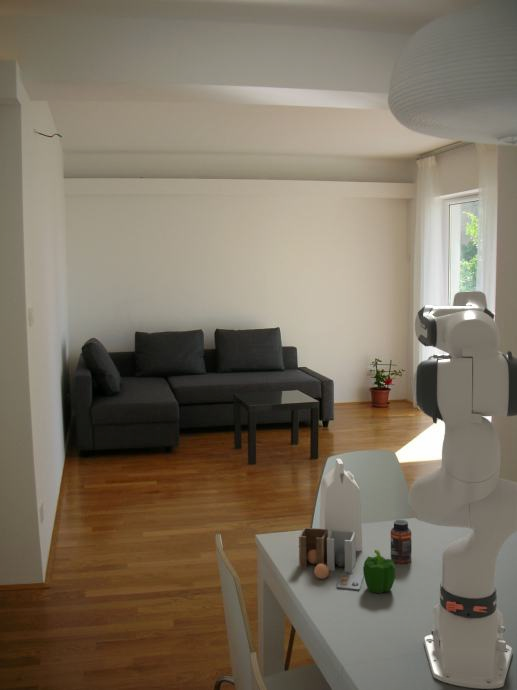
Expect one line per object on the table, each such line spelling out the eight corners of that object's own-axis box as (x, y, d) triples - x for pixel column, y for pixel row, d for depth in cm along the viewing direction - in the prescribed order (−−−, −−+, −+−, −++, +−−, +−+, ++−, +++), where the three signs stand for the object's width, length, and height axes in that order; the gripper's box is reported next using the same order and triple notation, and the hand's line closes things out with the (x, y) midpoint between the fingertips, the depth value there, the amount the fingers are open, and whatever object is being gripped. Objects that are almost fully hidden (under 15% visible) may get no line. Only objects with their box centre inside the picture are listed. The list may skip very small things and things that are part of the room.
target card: (359, 590, 185) (359, 588, 185) (336, 588, 187) (336, 586, 187) (363, 577, 193) (363, 575, 193) (341, 575, 194) (341, 573, 194)
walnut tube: (323, 569, 198) (323, 538, 197) (299, 567, 200) (298, 536, 199) (328, 559, 205) (327, 529, 204) (304, 557, 207) (304, 527, 206)
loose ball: (327, 582, 190) (327, 567, 190) (313, 580, 192) (312, 566, 191) (330, 575, 194) (330, 561, 194) (315, 574, 195) (315, 560, 195)
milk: (319, 536, 222) (318, 456, 219) (355, 535, 223) (355, 455, 220) (324, 552, 210) (323, 467, 207) (362, 550, 211) (362, 466, 208)
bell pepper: (394, 598, 181) (394, 560, 179) (362, 595, 183) (361, 558, 181) (396, 583, 189) (396, 547, 188) (365, 581, 191) (365, 545, 190)
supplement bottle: (415, 559, 204) (415, 521, 202) (404, 566, 199) (404, 527, 198) (397, 553, 208) (397, 516, 207) (386, 560, 204) (386, 522, 202)
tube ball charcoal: (347, 569, 198) (347, 555, 197) (333, 568, 199) (333, 554, 199) (349, 563, 202) (349, 550, 201) (335, 562, 203) (335, 549, 202)
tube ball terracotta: (319, 566, 200) (319, 553, 200) (305, 565, 201) (305, 551, 201) (322, 561, 204) (321, 547, 204) (308, 559, 205) (308, 546, 205)
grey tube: (352, 572, 196) (351, 541, 195) (327, 569, 198) (326, 539, 197) (355, 562, 203) (355, 531, 202) (331, 559, 205) (331, 529, 204)
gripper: (426, 355, 179) (426, 409, 180) (512, 356, 173) (510, 412, 175) (427, 352, 185) (427, 404, 186) (510, 353, 179) (509, 407, 181)
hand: (468, 408), depth 180 cm, fingers open, 8 cm apart
